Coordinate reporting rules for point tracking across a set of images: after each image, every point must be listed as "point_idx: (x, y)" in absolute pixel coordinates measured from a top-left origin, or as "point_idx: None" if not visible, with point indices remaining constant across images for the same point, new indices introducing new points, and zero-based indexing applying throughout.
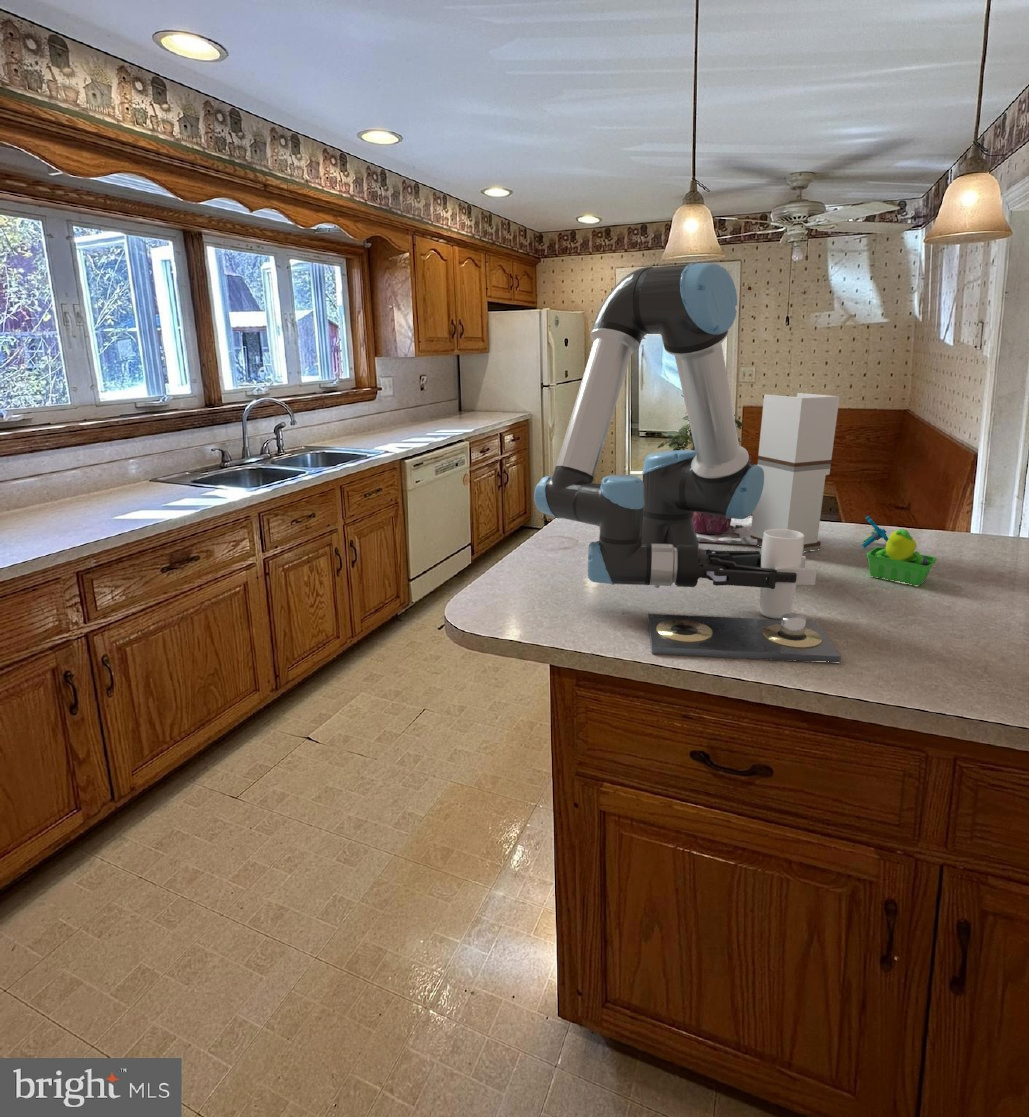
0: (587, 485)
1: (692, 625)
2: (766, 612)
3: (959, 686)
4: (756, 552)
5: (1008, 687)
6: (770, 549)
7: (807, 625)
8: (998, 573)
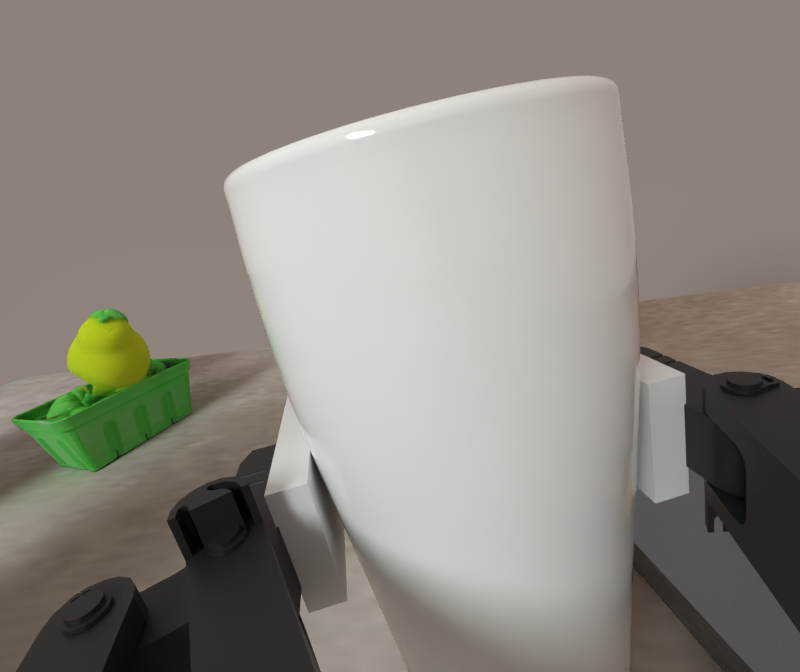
0: None
1: None
2: None
3: (722, 319)
4: (113, 613)
5: (654, 304)
6: (630, 246)
7: (674, 514)
8: None
